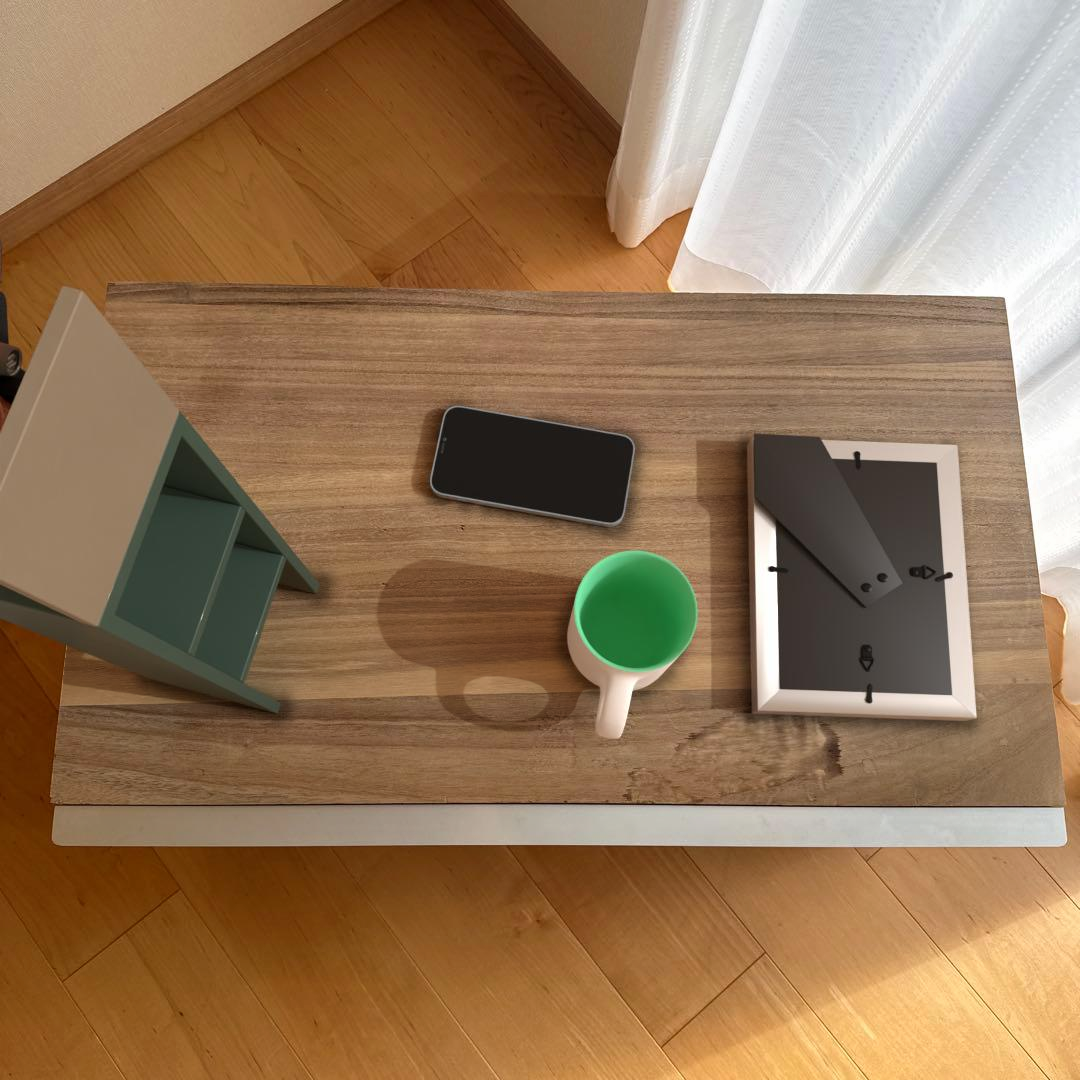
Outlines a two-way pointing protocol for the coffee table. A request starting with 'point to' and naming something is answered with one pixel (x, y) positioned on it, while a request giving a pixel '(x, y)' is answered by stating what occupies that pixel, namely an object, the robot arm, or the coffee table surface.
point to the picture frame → (858, 580)
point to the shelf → (130, 520)
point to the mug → (629, 628)
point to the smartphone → (533, 466)
